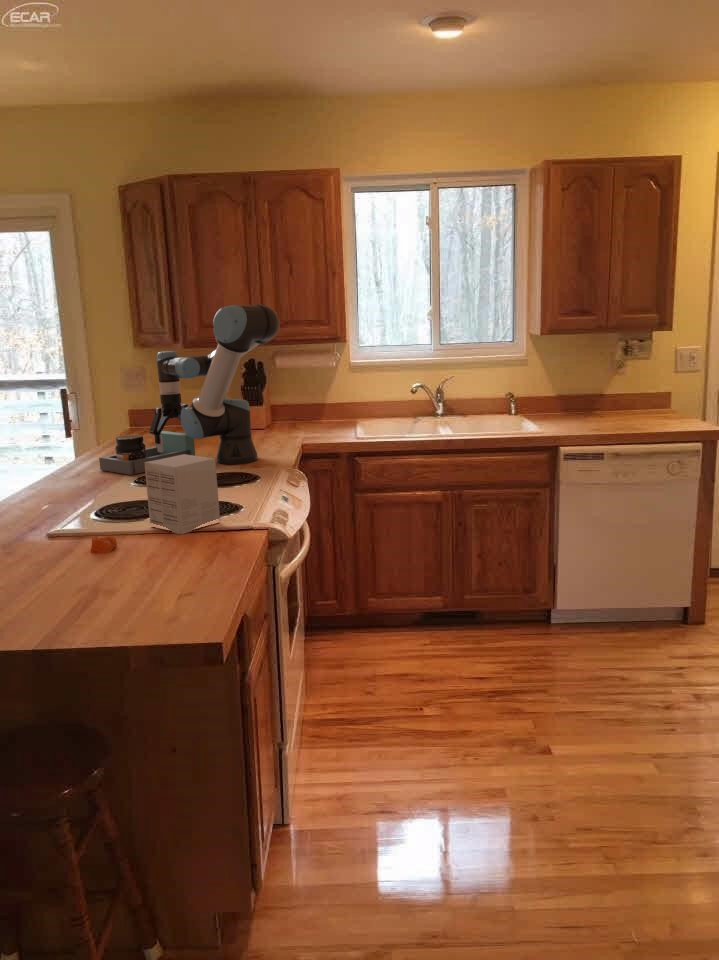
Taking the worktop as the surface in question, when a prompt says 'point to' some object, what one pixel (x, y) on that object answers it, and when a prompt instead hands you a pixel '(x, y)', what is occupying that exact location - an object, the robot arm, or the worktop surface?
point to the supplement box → (182, 492)
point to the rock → (103, 544)
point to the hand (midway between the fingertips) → (175, 449)
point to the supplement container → (130, 447)
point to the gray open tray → (151, 454)
